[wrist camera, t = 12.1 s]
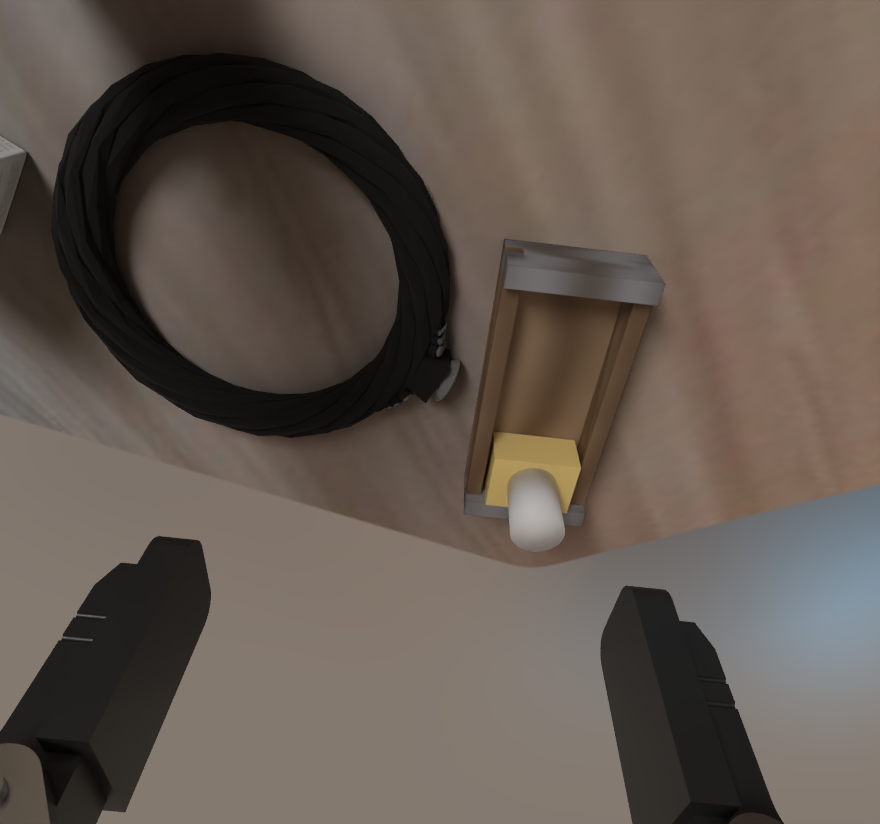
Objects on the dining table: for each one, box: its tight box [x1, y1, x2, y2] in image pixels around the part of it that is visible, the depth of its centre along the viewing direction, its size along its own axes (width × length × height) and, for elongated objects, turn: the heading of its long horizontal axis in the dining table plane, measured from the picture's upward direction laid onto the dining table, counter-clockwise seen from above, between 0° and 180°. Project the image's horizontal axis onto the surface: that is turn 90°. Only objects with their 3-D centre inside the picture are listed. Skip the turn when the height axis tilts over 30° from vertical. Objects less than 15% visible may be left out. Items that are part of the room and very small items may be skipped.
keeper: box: [485, 431, 581, 552], centre depth 46 cm, size 7×5×8 cm
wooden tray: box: [464, 239, 666, 527], centre depth 45 cm, size 10×22×5 cm, turn 174°
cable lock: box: [52, 53, 460, 438], centre depth 42 cm, size 28×4×30 cm
